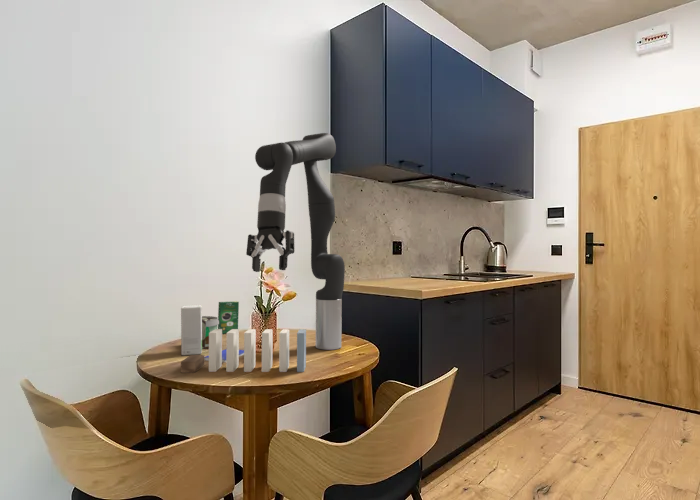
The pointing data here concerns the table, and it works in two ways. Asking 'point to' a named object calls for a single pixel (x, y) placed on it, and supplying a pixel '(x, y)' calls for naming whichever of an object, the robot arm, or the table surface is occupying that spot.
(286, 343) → the domino
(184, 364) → the block
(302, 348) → the domino
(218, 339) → the domino
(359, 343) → the table surface
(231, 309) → the coffee box
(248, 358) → the domino
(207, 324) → the food container
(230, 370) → the domino
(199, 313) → the skincare box
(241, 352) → the hard drive
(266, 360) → the domino
